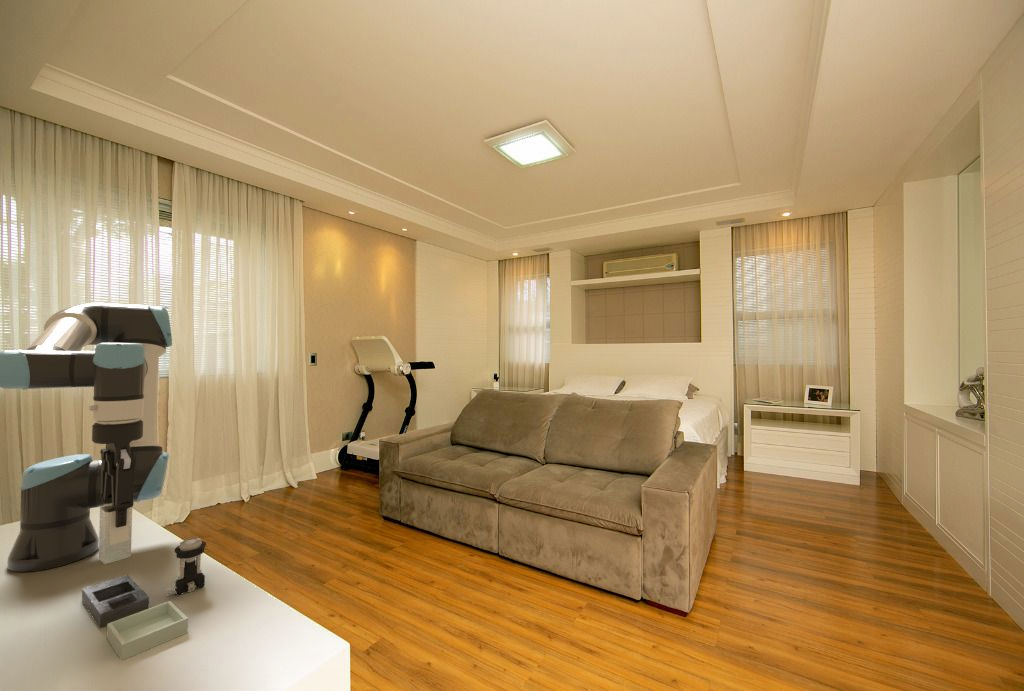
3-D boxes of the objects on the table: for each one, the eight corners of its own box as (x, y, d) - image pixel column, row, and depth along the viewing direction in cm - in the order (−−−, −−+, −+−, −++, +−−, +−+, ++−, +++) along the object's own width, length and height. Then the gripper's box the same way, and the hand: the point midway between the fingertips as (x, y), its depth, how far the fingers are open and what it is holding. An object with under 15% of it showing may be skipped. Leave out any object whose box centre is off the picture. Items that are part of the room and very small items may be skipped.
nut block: (98, 557, 87) (100, 507, 87) (125, 550, 90) (126, 501, 90) (104, 564, 84) (105, 512, 84) (131, 556, 88) (132, 506, 88)
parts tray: (106, 638, 77) (107, 623, 77) (169, 613, 84) (170, 600, 84) (121, 660, 71) (122, 644, 71) (187, 632, 79) (187, 618, 79)
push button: (169, 602, 88) (170, 551, 88) (162, 592, 91) (163, 544, 91) (208, 588, 93) (209, 541, 93) (200, 580, 96) (201, 534, 96)
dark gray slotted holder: (81, 601, 88) (82, 588, 88) (127, 586, 93) (127, 574, 93) (100, 628, 79) (100, 613, 79) (148, 610, 85) (149, 596, 85)
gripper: (82, 417, 89) (79, 533, 89) (104, 429, 79) (101, 559, 79) (130, 413, 95) (127, 521, 95) (156, 423, 85) (153, 544, 85)
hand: (115, 538), depth 87 cm, fingers closed on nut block, 4 cm apart
